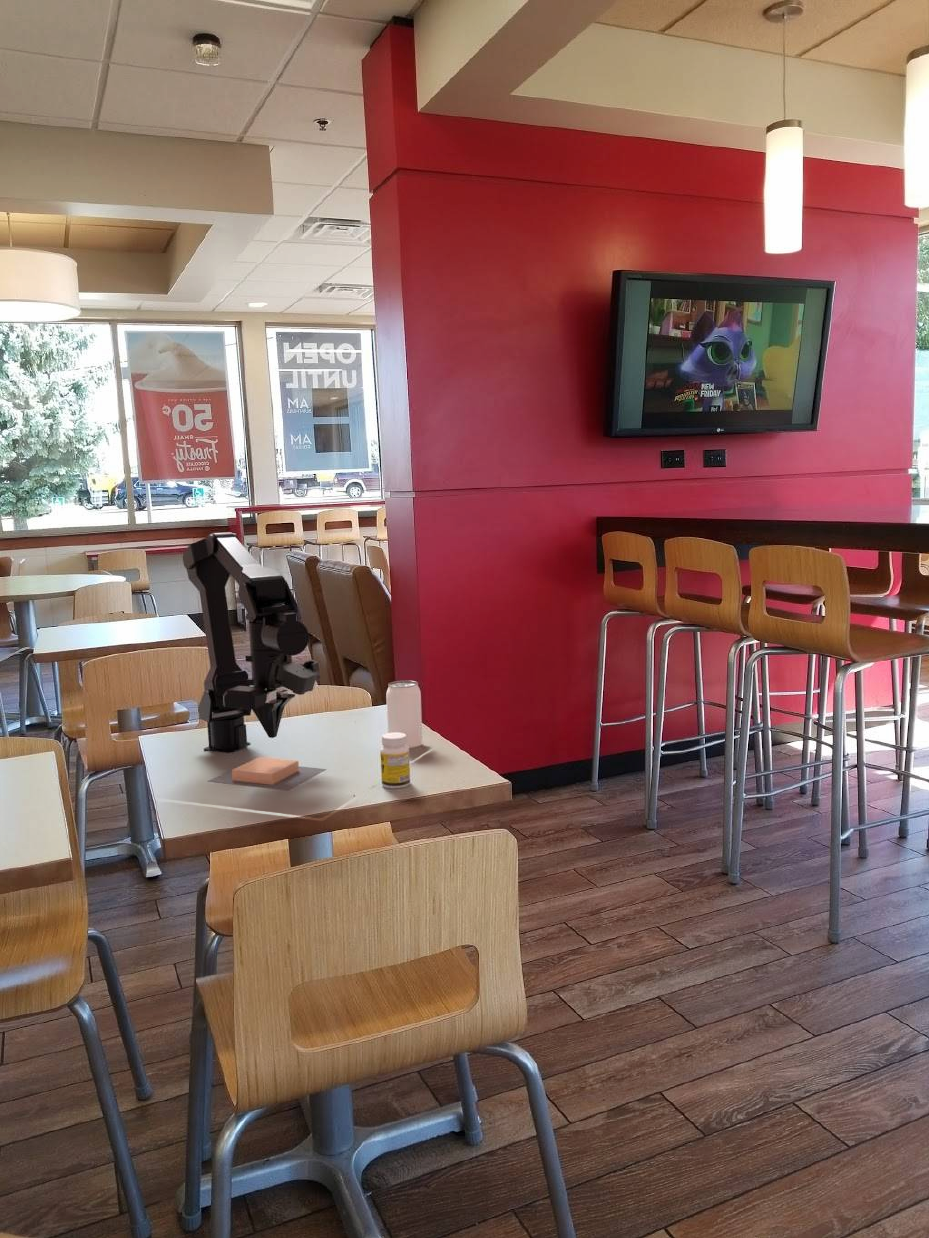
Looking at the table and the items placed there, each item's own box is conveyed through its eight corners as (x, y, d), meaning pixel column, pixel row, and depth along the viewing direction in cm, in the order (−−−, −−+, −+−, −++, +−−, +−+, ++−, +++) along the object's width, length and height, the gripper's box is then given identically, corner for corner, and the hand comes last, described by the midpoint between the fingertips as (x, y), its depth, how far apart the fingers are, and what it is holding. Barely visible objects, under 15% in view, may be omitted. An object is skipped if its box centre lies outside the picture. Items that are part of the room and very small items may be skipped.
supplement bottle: (383, 780, 157) (381, 731, 156) (411, 780, 157) (409, 731, 156) (380, 789, 152) (377, 739, 151) (409, 789, 152) (407, 738, 151)
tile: (260, 767, 165) (232, 780, 158) (259, 756, 165) (231, 769, 158) (298, 771, 162) (272, 785, 155) (298, 760, 162) (272, 774, 155)
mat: (207, 783, 158) (207, 780, 158) (249, 763, 169) (249, 761, 169) (288, 792, 152) (288, 790, 152) (326, 771, 163) (326, 769, 163)
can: (417, 750, 174) (415, 687, 173) (384, 749, 176) (381, 686, 174) (426, 741, 181) (424, 680, 179) (393, 740, 182) (391, 679, 180)
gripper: (276, 659, 148) (282, 755, 150) (336, 640, 165) (340, 727, 167) (218, 656, 152) (224, 750, 154) (282, 638, 169) (287, 723, 171)
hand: (272, 737), depth 162 cm, fingers closed
